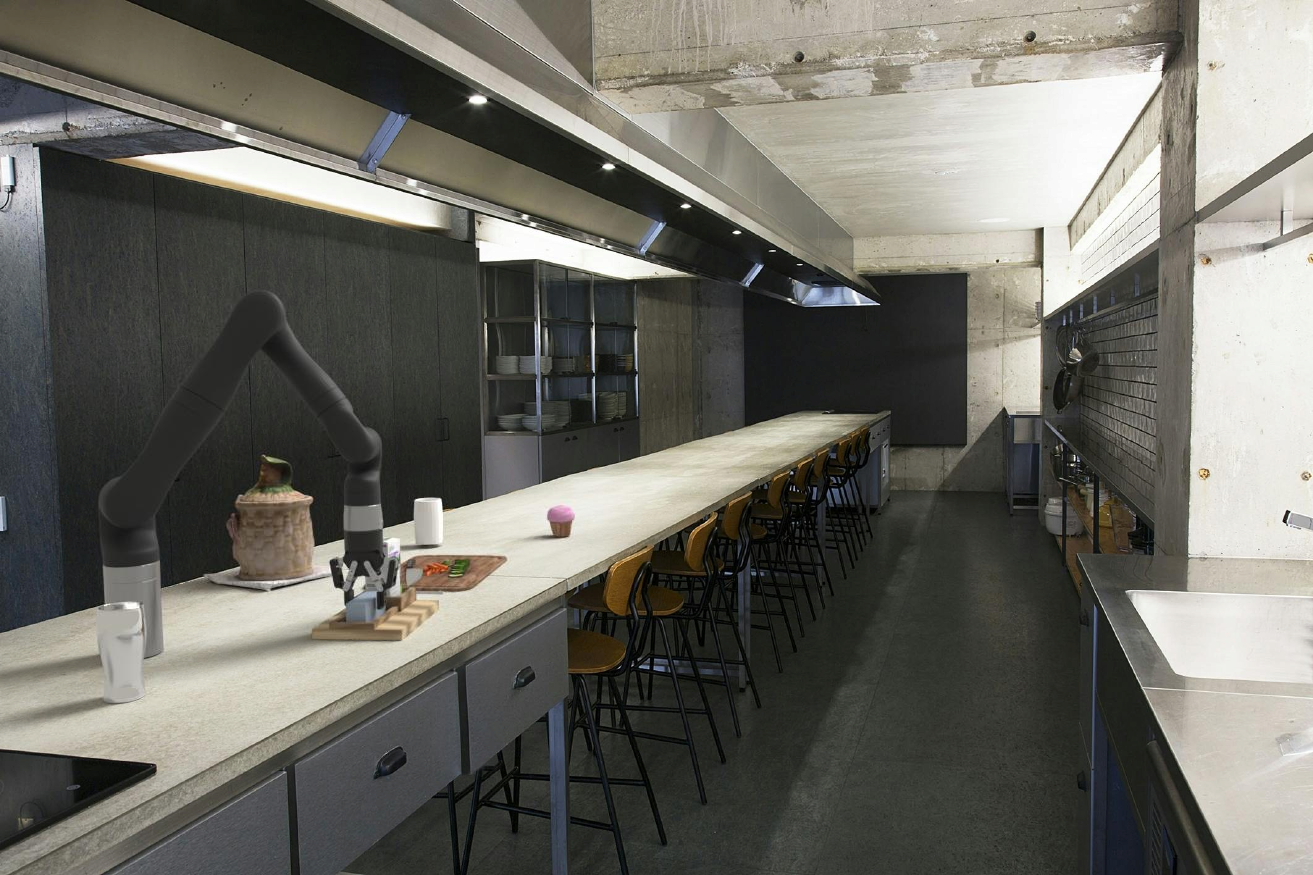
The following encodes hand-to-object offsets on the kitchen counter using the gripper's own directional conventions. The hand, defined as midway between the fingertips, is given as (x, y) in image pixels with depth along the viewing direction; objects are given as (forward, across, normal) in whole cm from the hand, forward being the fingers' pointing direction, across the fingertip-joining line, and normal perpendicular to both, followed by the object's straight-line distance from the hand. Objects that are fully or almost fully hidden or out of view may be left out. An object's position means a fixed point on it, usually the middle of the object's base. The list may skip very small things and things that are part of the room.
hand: (365, 608), depth 192 cm
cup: (+5, -16, +92) cm, 93 cm away
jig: (+4, +1, +4) cm, 6 cm away
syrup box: (+3, 0, +11) cm, 12 cm away
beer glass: (+5, -24, -42) cm, 48 cm away
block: (+2, 0, 0) cm, 2 cm away
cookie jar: (+5, -42, +47) cm, 63 cm away
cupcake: (+5, +21, +110) cm, 112 cm away
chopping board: (+5, -1, +54) cm, 54 cm away
